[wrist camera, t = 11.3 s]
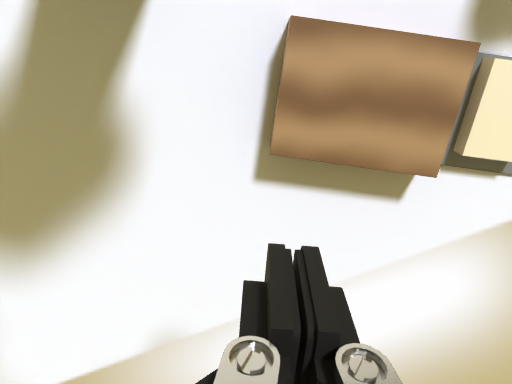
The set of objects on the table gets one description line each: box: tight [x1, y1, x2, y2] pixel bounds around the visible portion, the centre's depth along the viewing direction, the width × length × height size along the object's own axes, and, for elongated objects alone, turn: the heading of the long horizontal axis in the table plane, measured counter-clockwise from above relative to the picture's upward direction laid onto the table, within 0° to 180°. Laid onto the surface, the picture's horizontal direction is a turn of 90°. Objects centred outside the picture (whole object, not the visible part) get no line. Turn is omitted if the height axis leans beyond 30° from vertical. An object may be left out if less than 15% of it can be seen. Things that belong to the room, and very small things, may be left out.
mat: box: [441, 53, 512, 174], centre depth 37 cm, size 11×10×1 cm
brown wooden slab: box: [270, 15, 481, 178], centre depth 35 cm, size 12×16×4 cm
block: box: [453, 58, 512, 162], centre depth 35 cm, size 9×6×2 cm, turn 173°
